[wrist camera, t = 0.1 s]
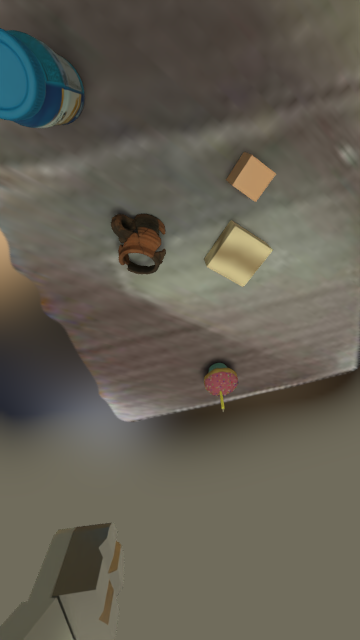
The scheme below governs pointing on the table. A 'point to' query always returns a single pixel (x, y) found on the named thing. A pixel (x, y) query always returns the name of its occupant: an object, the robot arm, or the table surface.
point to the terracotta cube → (250, 176)
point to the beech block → (237, 254)
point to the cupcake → (220, 381)
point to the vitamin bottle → (37, 83)
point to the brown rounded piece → (139, 240)
